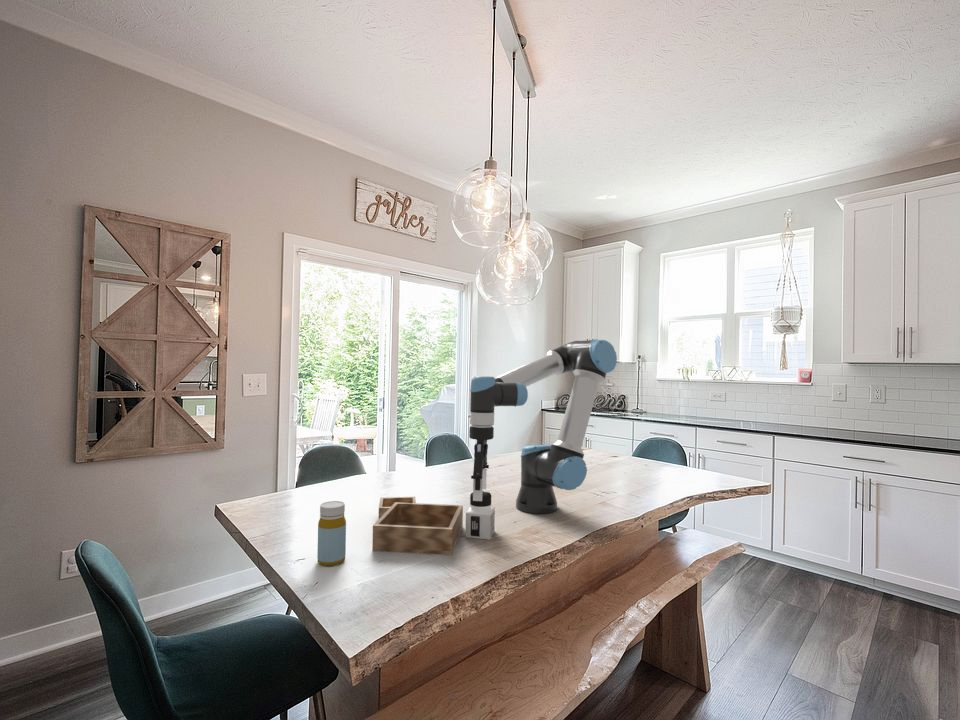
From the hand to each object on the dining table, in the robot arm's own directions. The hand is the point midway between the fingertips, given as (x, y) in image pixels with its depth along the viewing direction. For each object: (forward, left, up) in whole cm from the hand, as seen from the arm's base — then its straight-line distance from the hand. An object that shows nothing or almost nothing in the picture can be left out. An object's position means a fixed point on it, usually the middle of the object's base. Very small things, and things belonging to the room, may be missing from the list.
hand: (479, 494), depth 143 cm
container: (0, 0, -13) cm, 13 cm away
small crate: (+29, -10, -12) cm, 33 cm away
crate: (+17, +5, -12) cm, 22 cm away
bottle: (+37, +25, -13) cm, 46 cm away
